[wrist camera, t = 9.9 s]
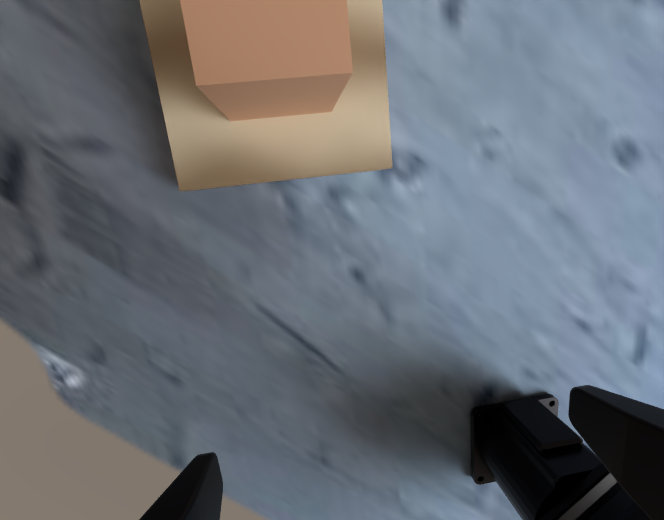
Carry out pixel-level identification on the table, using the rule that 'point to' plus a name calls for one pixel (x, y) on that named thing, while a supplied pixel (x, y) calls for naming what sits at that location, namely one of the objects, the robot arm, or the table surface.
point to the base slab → (277, 132)
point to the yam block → (269, 55)
